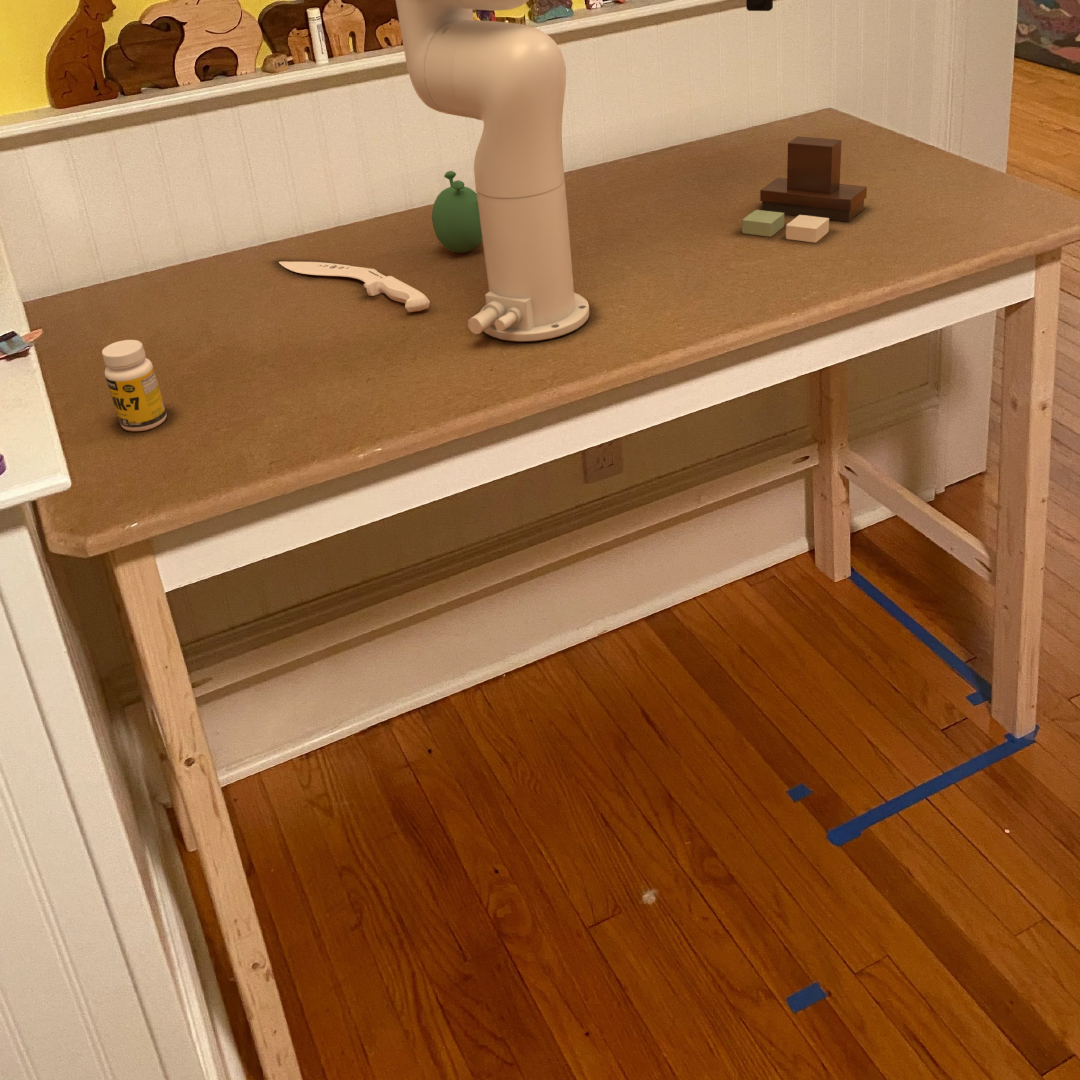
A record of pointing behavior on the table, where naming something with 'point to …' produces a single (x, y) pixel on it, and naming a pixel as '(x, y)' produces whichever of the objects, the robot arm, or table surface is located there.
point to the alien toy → (457, 217)
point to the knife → (366, 281)
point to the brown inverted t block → (814, 183)
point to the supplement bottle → (133, 386)
